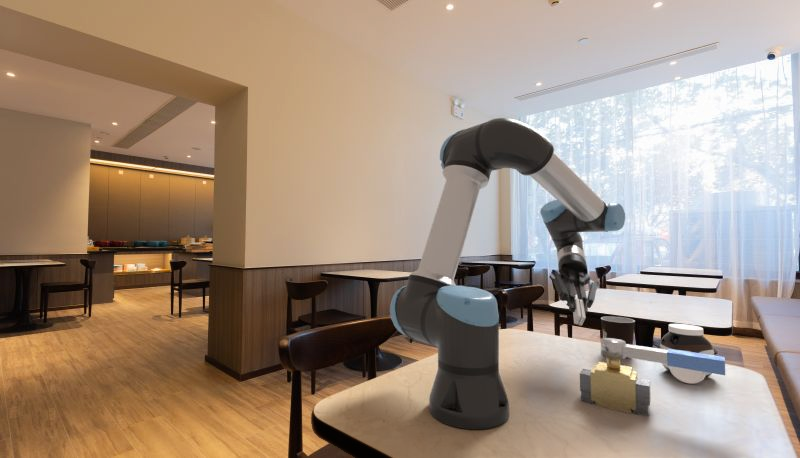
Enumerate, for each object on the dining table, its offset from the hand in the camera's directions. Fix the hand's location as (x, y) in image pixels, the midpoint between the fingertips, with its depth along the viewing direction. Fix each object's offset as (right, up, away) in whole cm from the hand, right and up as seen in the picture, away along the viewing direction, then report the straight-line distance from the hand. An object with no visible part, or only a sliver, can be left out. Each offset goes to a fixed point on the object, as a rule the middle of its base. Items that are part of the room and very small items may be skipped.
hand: (579, 320), depth 89 cm
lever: (+5, -3, -19) cm, 20 cm away
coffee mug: (+21, -14, +19) cm, 31 cm away
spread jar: (+26, -14, -1) cm, 29 cm away
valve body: (0, -13, -15) cm, 20 cm away
